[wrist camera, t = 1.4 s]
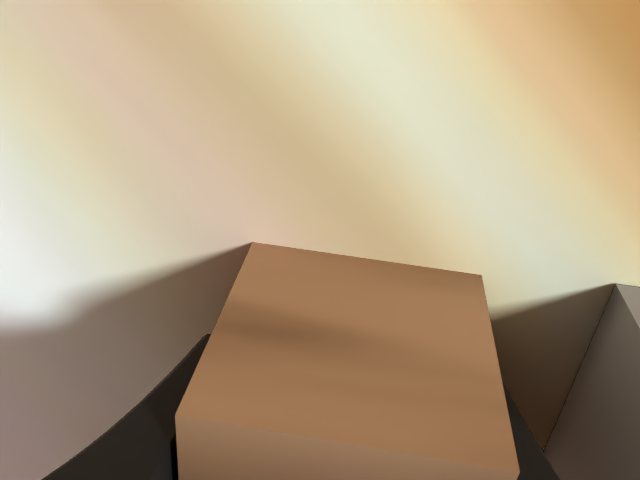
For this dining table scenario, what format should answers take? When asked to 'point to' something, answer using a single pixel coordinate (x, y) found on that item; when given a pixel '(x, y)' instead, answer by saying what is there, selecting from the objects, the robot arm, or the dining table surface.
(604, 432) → the tote
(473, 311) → the walnut cube
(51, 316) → the dining table surface
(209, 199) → the dining table surface
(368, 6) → the dining table surface
